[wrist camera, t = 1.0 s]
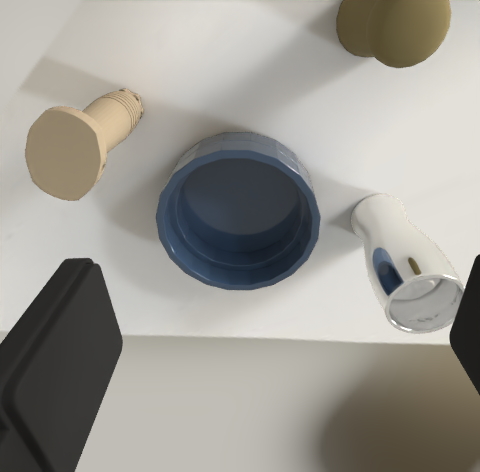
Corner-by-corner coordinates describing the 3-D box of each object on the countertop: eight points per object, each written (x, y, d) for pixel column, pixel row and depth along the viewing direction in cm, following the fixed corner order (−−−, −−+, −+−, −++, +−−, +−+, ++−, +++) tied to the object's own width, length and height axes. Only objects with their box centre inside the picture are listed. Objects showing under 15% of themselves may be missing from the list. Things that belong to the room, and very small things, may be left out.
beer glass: (338, 235, 45) (370, 328, 32) (359, 184, 41) (404, 265, 28) (393, 246, 45) (445, 341, 33) (418, 196, 41) (489, 281, 29)
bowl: (159, 131, 39) (144, 150, 34) (318, 129, 38) (328, 149, 33) (177, 259, 48) (167, 289, 43) (306, 259, 47) (312, 291, 42)
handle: (161, 85, 36) (110, 131, 24) (142, 143, 39) (87, 210, 27) (114, 62, 35) (33, 96, 23) (98, 123, 39) (20, 183, 26)
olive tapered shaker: (383, 66, 35) (429, 91, 25) (324, 43, 34) (350, 59, 24) (420, -7, 31) (489, -9, 22) (356, -35, 31) (399, -50, 21)
